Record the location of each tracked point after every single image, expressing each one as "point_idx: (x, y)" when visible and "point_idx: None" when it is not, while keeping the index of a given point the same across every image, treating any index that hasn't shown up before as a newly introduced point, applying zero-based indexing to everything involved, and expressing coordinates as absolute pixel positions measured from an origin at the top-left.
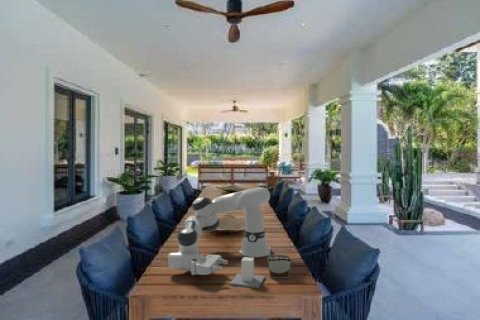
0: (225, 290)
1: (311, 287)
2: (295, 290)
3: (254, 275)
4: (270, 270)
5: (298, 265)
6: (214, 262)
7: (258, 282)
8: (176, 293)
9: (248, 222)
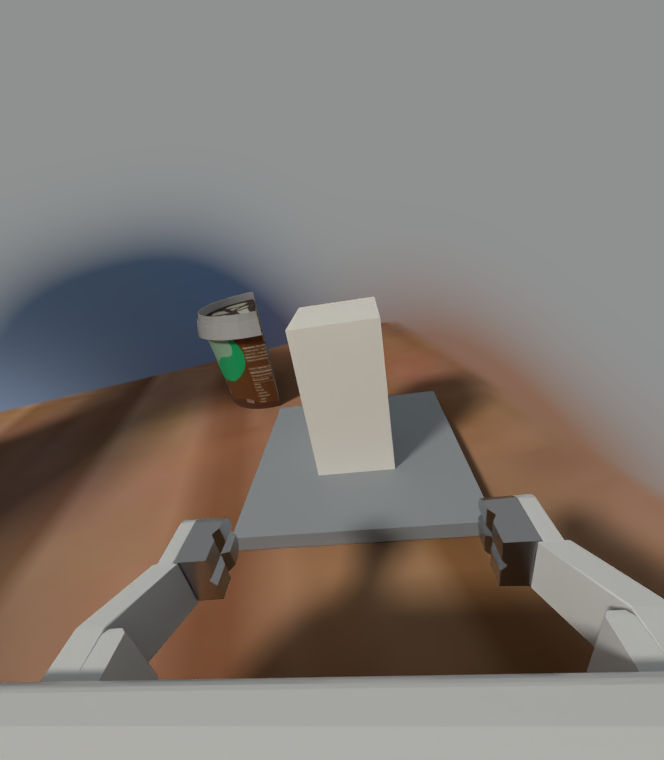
0: (637, 527)
1: None
2: (392, 341)
3: (280, 439)
4: (271, 372)
5: (140, 382)
6: (425, 676)
7: None
8: None
9: None
